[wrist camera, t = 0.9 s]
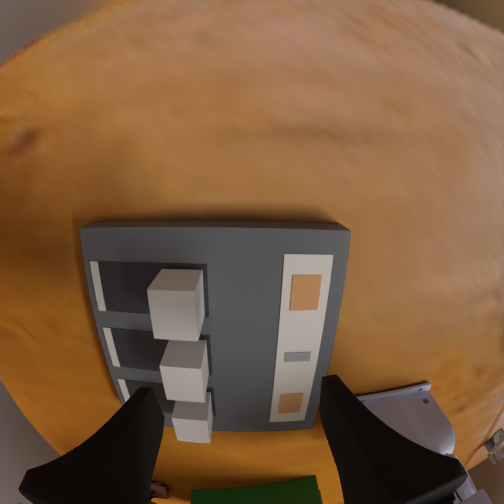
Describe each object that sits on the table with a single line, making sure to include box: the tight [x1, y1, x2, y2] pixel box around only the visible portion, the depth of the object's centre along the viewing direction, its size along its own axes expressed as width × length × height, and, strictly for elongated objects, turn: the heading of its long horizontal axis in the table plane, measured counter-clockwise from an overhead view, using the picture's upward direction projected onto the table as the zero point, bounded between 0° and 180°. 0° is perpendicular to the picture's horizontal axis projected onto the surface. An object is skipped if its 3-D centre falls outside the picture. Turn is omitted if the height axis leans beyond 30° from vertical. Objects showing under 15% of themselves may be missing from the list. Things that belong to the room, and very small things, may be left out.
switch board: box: [79, 220, 351, 431], centre depth 20 cm, size 17×18×2 cm
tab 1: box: [147, 269, 205, 341], centre depth 16 cm, size 2×3×3 cm
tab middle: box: [160, 340, 209, 403], centre depth 17 cm, size 2×3×3 cm
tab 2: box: [172, 392, 213, 443], centre depth 19 cm, size 2×3×3 cm
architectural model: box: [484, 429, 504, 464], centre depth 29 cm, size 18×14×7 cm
